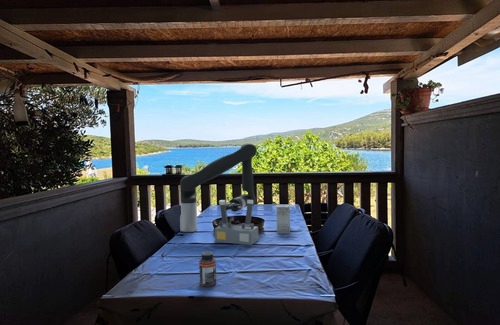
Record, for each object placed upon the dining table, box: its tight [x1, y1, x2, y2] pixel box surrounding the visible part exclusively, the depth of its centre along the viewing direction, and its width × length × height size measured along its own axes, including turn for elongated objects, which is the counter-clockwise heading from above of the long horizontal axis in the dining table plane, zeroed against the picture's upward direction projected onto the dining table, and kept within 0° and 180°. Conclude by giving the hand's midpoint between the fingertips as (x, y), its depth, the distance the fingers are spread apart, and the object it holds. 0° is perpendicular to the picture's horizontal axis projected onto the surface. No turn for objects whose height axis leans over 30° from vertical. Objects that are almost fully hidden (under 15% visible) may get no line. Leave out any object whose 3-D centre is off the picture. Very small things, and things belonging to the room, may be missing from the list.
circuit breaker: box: [276, 204, 291, 234], centre depth 188 cm, size 8×14×15 cm, turn 174°
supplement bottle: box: [198, 251, 217, 287], centre depth 114 cm, size 6×6×11 cm
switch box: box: [214, 220, 259, 246], centre depth 168 cm, size 21×10×10 cm, turn 68°
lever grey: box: [244, 200, 253, 227], centre depth 167 cm, size 3×2×14 cm, turn 68°
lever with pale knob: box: [218, 199, 229, 226], centre depth 168 cm, size 3×2×14 cm, turn 68°
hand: (224, 209), depth 169 cm, fingers closed
